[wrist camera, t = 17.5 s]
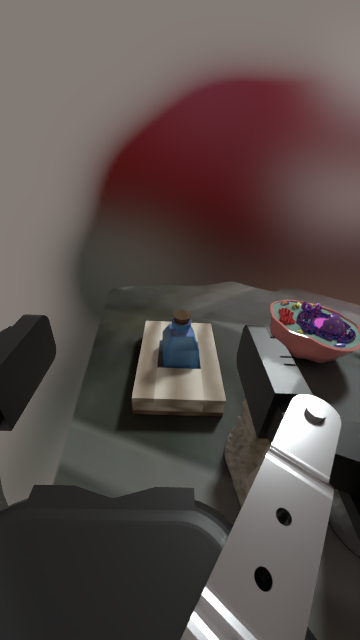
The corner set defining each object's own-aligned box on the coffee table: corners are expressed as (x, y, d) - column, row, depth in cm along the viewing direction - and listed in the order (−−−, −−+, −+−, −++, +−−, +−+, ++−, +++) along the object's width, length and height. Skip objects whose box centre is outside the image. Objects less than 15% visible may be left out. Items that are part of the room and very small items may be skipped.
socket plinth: (208, 337, 61) (210, 323, 59) (222, 416, 43) (225, 400, 40) (146, 334, 60) (146, 320, 58) (132, 413, 42) (131, 397, 40)
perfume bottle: (195, 375, 49) (202, 324, 42) (163, 377, 48) (165, 325, 41) (191, 354, 54) (196, 305, 47) (162, 355, 53) (163, 305, 46)
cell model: (289, 319, 70) (302, 282, 64) (363, 364, 56) (389, 322, 50) (245, 336, 62) (255, 295, 56) (318, 392, 48) (342, 347, 42)
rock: (240, 542, 29) (284, 469, 21) (216, 419, 43) (237, 348, 35) (366, 541, 30) (449, 473, 23) (303, 422, 44) (341, 356, 37)
